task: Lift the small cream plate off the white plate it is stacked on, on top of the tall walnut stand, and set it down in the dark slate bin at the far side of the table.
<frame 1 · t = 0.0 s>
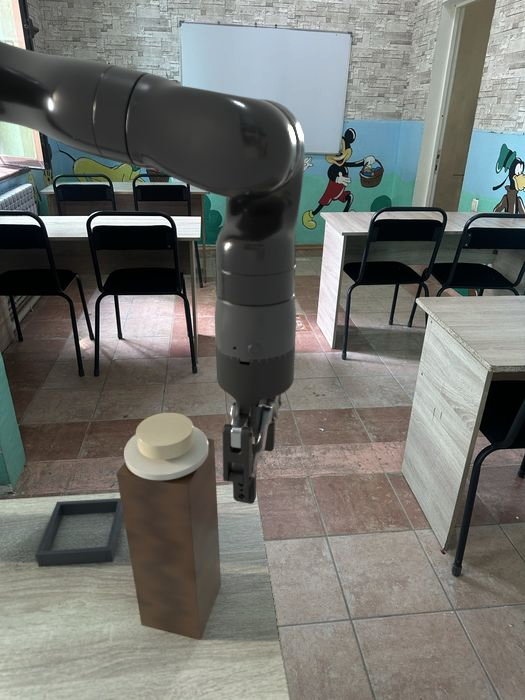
hand: (255, 472, 52), 24 cm above the table, tool pointing down, fingers open, 8 cm apart
top plate: (166, 446, 52), point 27 cm above the table, touching bottom plate
riser box: (183, 610, 64), on the table
bottom plate: (167, 455, 52), point 26 cm above the table, touching riser box, top plate
bin: (86, 541, 74), on the table
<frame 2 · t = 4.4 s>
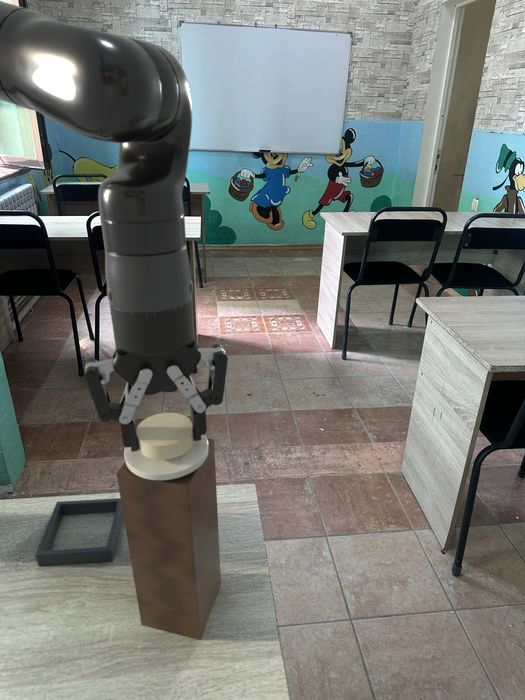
hand: (165, 441, 52), 28 cm above the table, tool pointing down, fingers closed on top plate, 6 cm apart
top plate: (166, 446, 52), point 27 cm above the table, touching bottom plate, gripper
everything else where it was.
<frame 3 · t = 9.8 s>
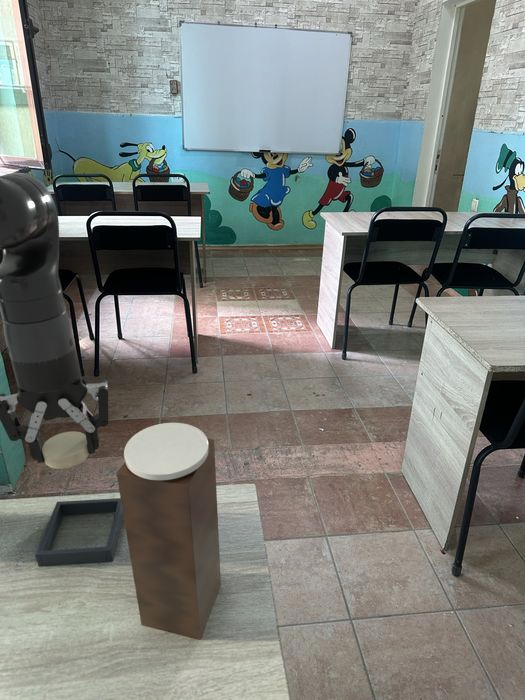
hand: (67, 454, 67), 17 cm above the table, tool pointing down, fingers closed on top plate, 6 cm apart
top plate: (68, 458, 67), point 16 cm above the table, touching gripper
bottom plate: (167, 455, 52), point 26 cm above the table, touching riser box
everything else where it was.
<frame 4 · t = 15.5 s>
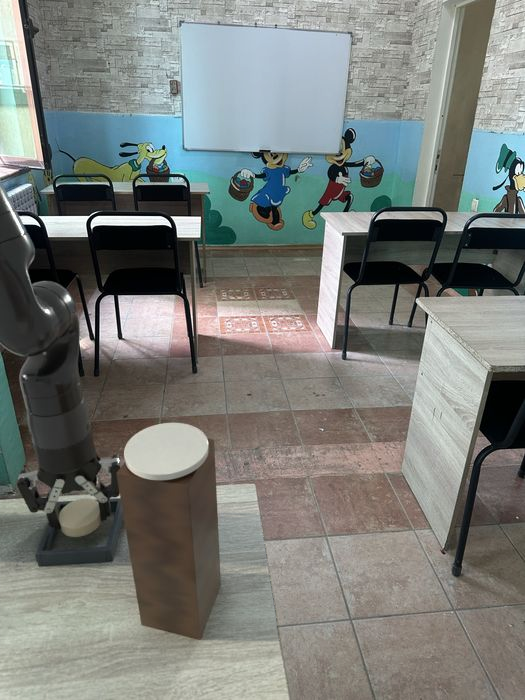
hand: (81, 521, 72), 4 cm above the table, tool pointing down, fingers closed on top plate, 6 cm apart
top plate: (82, 524, 73), point 4 cm above the table, touching gripper
everything else where it was.
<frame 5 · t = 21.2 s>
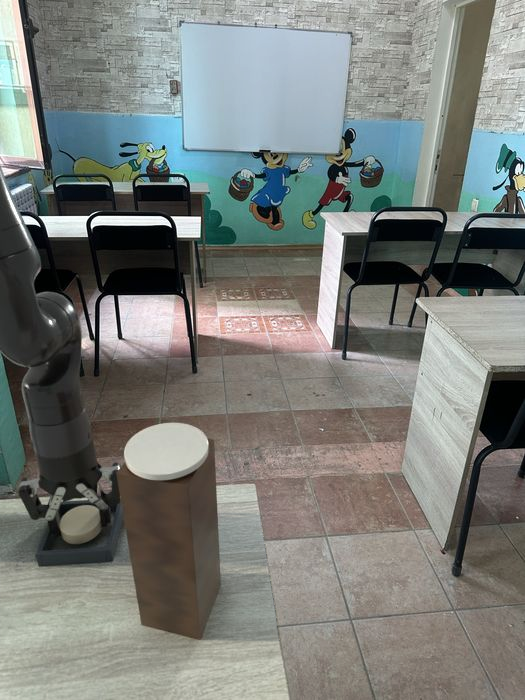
hand: (82, 527, 73), 3 cm above the table, tool pointing down, fingers closed on top plate, 6 cm apart
top plate: (83, 531, 73), point 2 cm above the table, touching gripper
everything else where it was.
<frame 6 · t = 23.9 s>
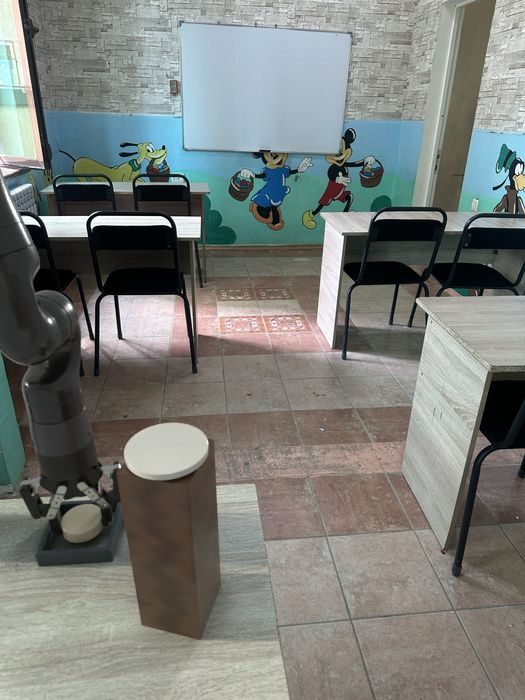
hand: (83, 526, 73), 3 cm above the table, tool pointing down, fingers closed on top plate, 6 cm apart
top plate: (84, 529, 73), point 2 cm above the table, touching gripper
everything else where it was.
when the fingers open (4 cm above the table, at t = 26.4 s): top plate drops 3 cm, resting on bin.
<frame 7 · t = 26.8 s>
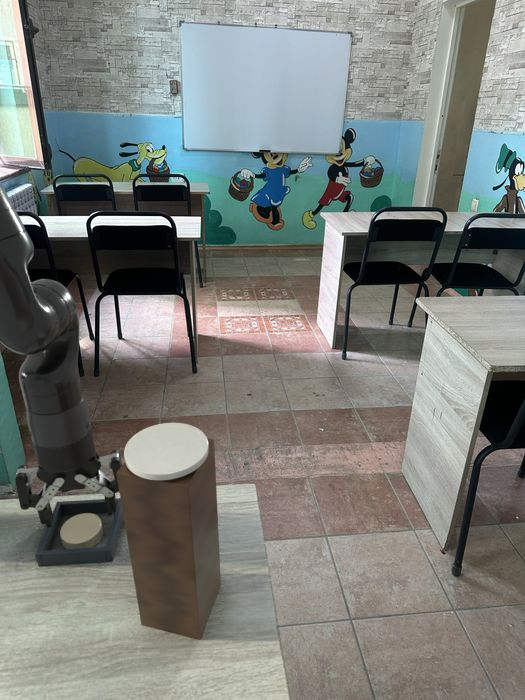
hand: (80, 517, 72), 5 cm above the table, tool pointing down, fingers open, 8 cm apart
top plate: (83, 539, 74), point 1 cm above the table, touching bin
everything else where it was.
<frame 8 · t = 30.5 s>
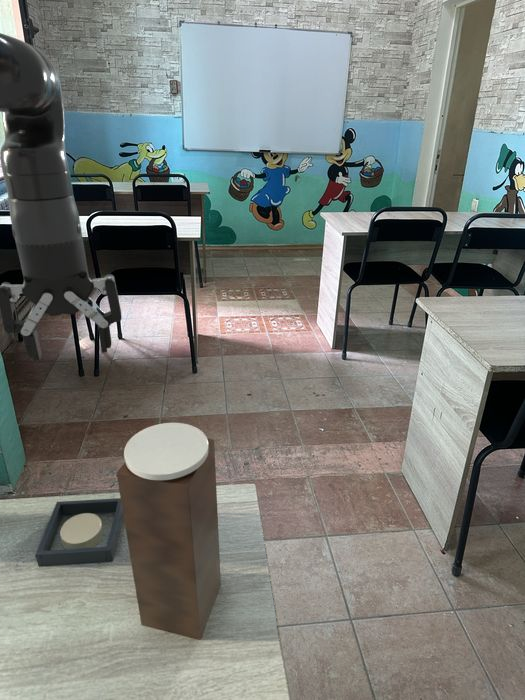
hand: (71, 354, 65), 30 cm above the table, tool pointing down, fingers open, 8 cm apart
nothing on the table moved.
at the end: top plate inside the target area in the bin (0.2 cm from its centre), point 0.6 cm above the bin's base; top plate tilted 0°; bottom plate moved 0.0 cm from its start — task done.
